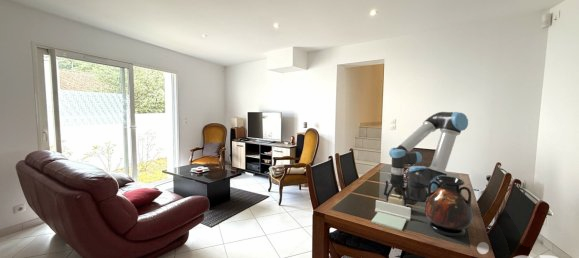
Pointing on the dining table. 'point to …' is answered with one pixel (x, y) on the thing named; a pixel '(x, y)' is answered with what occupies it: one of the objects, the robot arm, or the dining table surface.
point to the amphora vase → (448, 207)
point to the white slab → (393, 209)
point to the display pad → (389, 221)
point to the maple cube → (395, 199)
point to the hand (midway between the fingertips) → (395, 207)
